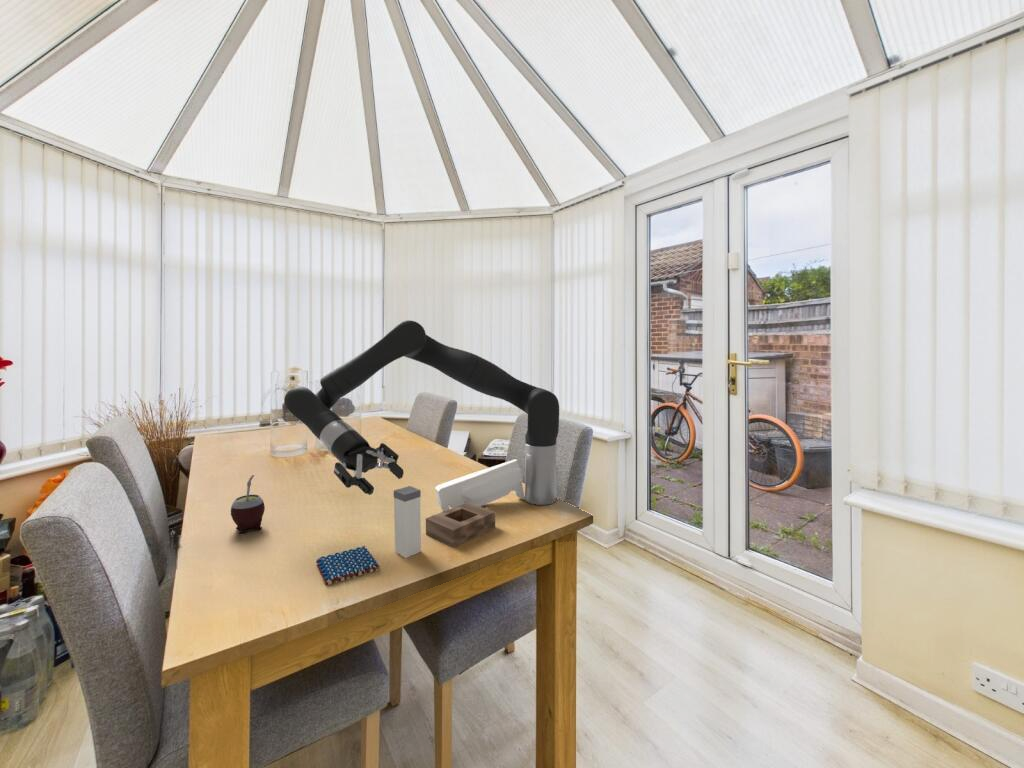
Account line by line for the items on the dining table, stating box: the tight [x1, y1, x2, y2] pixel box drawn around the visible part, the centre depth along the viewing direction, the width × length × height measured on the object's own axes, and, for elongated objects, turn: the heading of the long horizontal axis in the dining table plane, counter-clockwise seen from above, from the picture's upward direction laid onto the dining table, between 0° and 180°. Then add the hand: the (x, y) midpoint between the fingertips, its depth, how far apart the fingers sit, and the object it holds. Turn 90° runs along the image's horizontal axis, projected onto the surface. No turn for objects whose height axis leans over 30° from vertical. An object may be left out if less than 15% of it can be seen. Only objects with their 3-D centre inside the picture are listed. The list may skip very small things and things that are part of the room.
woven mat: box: [315, 545, 380, 586], centre depth 86 cm, size 10×11×2 cm
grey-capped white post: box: [393, 485, 422, 559], centre depth 92 cm, size 4×4×14 cm
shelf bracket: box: [434, 458, 525, 512], centre depth 120 cm, size 6×25×13 cm, turn 116°
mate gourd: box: [230, 474, 266, 535], centre depth 103 cm, size 8×8×15 cm
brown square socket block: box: [425, 503, 496, 548], centre depth 103 cm, size 14×10×4 cm
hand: (387, 483), depth 95 cm, fingers open, 8 cm apart
